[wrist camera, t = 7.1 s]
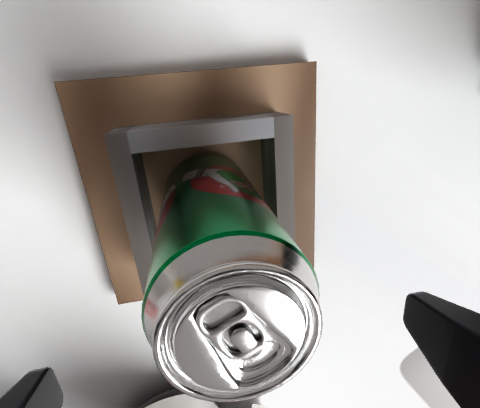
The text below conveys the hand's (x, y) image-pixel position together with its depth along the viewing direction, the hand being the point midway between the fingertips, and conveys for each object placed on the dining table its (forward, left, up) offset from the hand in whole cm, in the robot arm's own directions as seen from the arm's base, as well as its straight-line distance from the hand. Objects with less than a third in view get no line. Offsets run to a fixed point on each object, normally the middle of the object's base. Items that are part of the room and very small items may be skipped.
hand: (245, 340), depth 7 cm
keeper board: (0, 0, -13) cm, 13 cm away
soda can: (0, 0, -12) cm, 12 cm away
